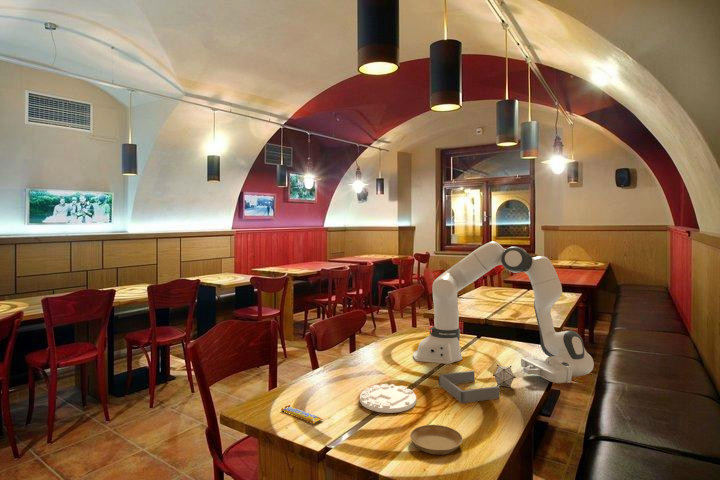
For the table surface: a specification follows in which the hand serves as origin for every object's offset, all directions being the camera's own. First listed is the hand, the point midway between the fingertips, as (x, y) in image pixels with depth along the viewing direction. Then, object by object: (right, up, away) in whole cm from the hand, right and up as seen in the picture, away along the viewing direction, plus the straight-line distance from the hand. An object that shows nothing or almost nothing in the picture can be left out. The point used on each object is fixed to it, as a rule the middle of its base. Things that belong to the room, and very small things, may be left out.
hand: (525, 371), depth 169 cm
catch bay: (-24, -5, -7) cm, 25 cm away
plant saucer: (-43, -8, -45) cm, 62 cm away
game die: (-9, -5, -2) cm, 11 cm away
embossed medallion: (-55, -7, -15) cm, 57 cm away
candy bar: (-84, -8, -26) cm, 88 cm away
